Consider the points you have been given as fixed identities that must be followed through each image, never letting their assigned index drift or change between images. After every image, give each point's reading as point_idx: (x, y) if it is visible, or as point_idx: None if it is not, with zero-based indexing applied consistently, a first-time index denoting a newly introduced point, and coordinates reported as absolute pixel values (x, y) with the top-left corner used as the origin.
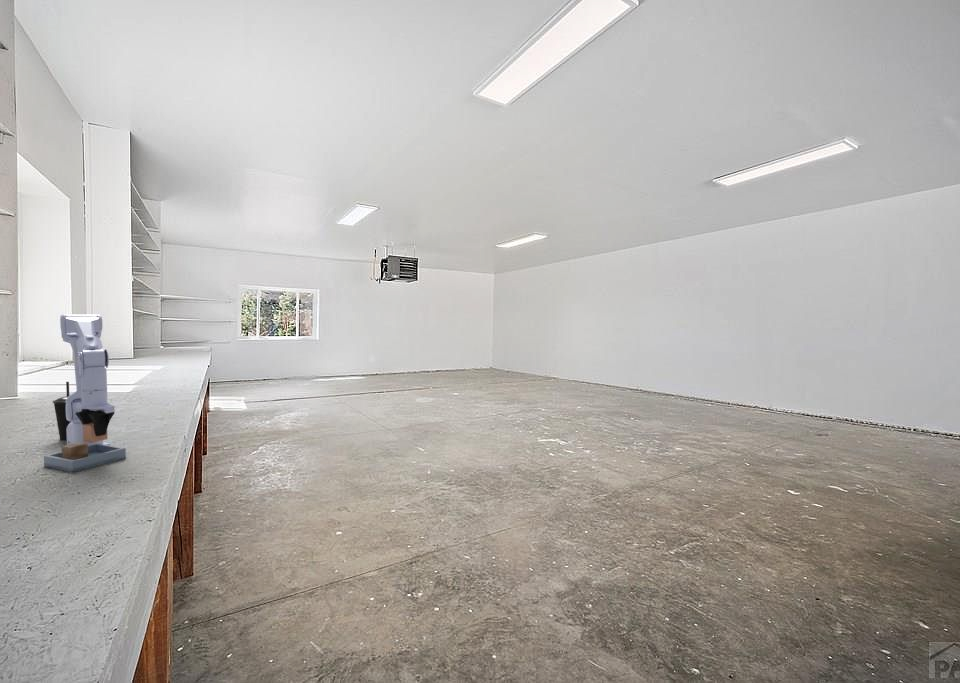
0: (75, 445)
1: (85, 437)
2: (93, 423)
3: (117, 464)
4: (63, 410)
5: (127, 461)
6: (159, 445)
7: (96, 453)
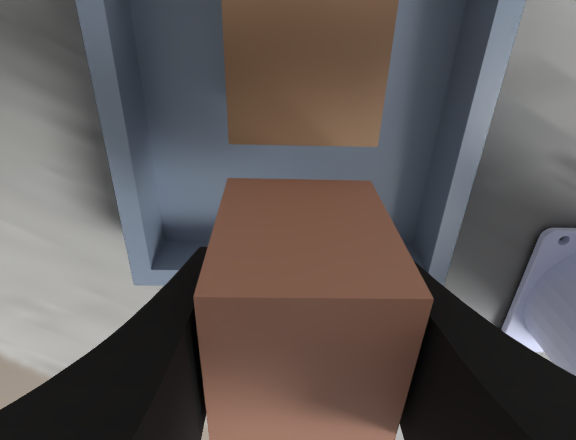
0: (277, 55)
1: (333, 199)
2: (159, 347)
3: (40, 152)
4: None
5: (61, 208)
6: None
7: None
